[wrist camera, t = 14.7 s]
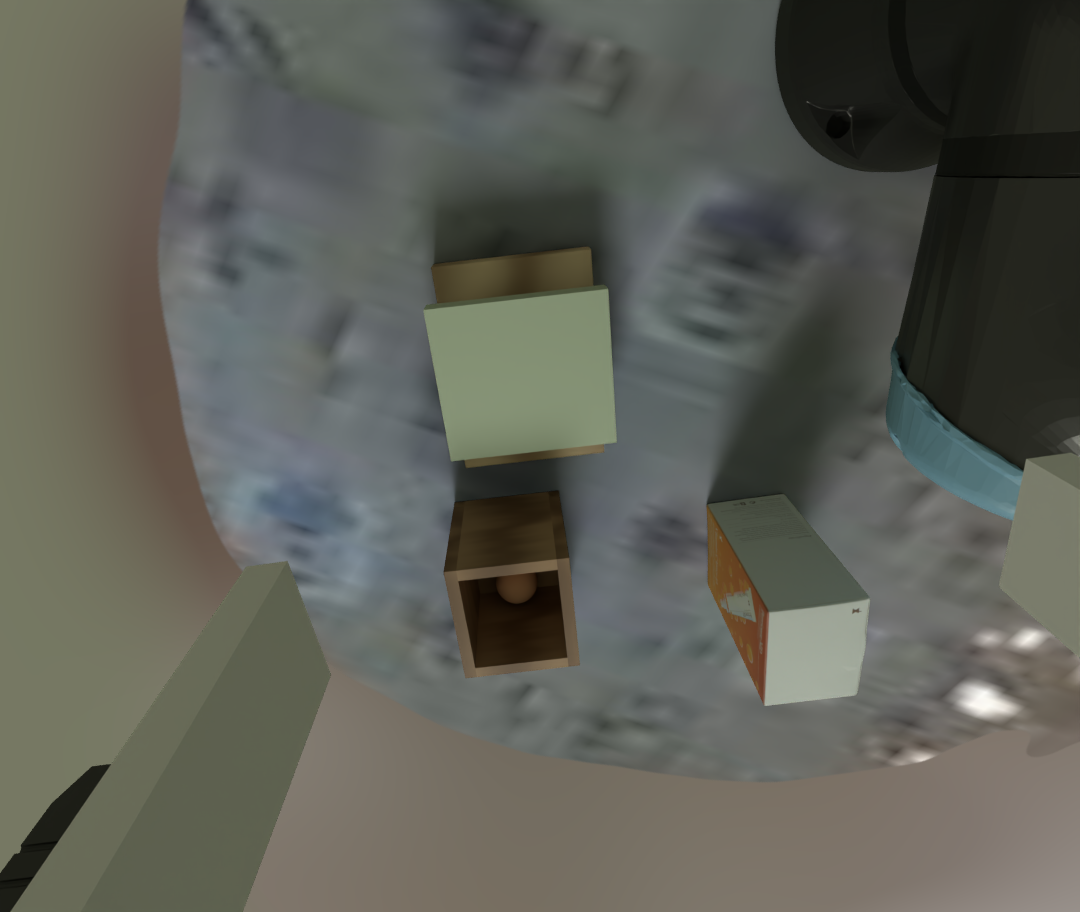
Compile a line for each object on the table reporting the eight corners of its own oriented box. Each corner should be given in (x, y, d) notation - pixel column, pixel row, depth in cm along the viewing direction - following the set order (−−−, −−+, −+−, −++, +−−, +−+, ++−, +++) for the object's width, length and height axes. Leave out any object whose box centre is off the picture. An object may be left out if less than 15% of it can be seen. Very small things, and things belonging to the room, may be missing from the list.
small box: (704, 502, 48) (767, 610, 37) (785, 491, 48) (874, 596, 37) (705, 585, 52) (763, 709, 40) (780, 575, 52) (861, 696, 40)
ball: (534, 551, 49) (536, 575, 46) (538, 584, 50) (540, 609, 47) (493, 555, 49) (493, 580, 46) (499, 588, 50) (498, 614, 47)
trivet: (588, 246, 40) (590, 249, 38) (601, 443, 46) (604, 452, 44) (433, 264, 40) (431, 267, 38) (467, 459, 46) (465, 467, 44)
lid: (601, 280, 39) (608, 288, 37) (609, 425, 44) (616, 442, 41) (429, 300, 39) (423, 310, 37) (454, 442, 44) (451, 461, 41)
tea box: (558, 490, 47) (569, 557, 39) (568, 585, 51) (579, 665, 43) (454, 502, 47) (443, 572, 39) (472, 596, 51) (465, 678, 43)
